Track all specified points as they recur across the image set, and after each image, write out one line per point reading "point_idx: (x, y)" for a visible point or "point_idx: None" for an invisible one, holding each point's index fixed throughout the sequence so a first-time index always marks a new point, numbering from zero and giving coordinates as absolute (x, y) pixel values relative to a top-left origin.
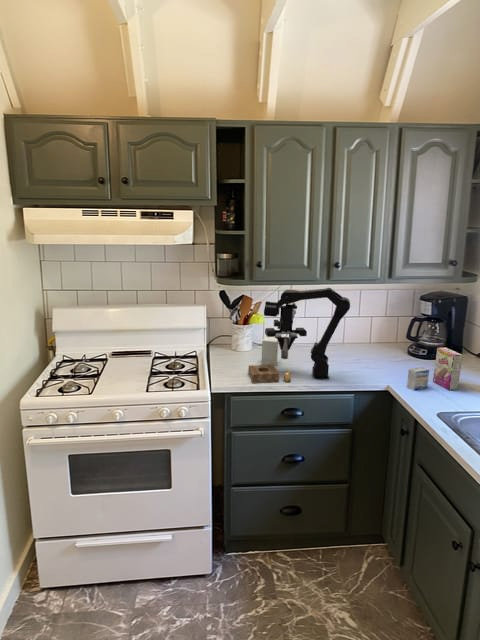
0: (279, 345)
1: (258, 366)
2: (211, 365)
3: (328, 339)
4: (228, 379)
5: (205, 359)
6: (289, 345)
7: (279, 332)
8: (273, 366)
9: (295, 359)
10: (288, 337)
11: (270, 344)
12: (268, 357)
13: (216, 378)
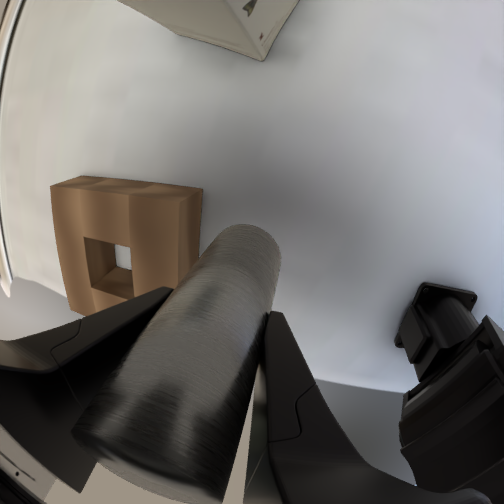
0: (119, 311)
1: (87, 211)
2: (7, 72)
3: None
4: (30, 227)
5: (14, 15)
6: (254, 408)
7: (1, 498)
8: (170, 236)
9: (442, 6)
10: (216, 498)
11: None
12: (192, 28)
13: (8, 209)
